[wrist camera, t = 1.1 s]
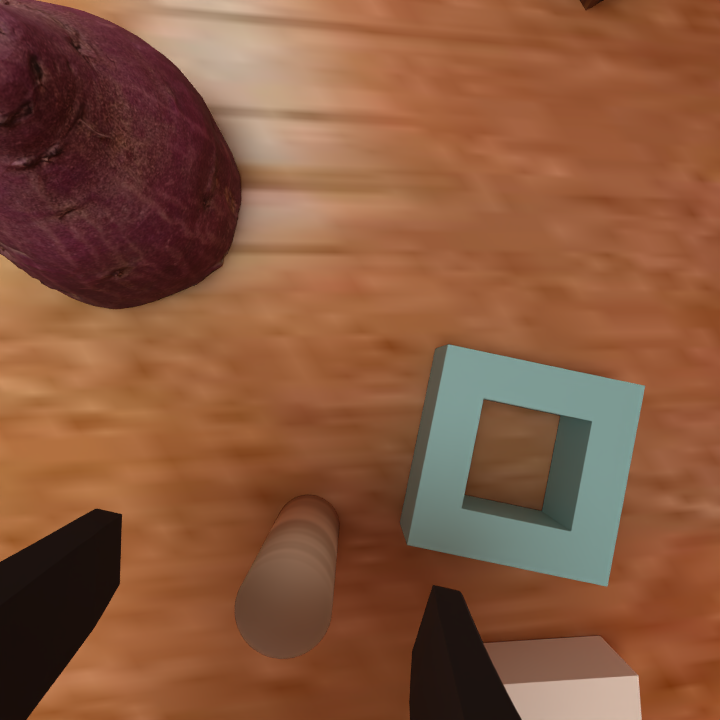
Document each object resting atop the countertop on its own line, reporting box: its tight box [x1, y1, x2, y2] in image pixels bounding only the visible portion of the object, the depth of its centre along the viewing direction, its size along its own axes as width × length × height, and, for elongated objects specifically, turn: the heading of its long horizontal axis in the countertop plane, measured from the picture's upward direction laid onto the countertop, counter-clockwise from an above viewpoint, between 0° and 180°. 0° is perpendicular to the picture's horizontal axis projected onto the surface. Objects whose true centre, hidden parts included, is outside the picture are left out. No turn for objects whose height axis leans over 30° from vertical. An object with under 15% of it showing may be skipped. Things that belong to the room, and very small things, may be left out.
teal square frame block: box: [400, 344, 645, 586], centre depth 21 cm, size 8×8×3 cm
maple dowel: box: [235, 495, 339, 659], centre depth 18 cm, size 3×3×8 cm
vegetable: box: [0, 0, 241, 309], centre depth 17 cm, size 10×10×15 cm
